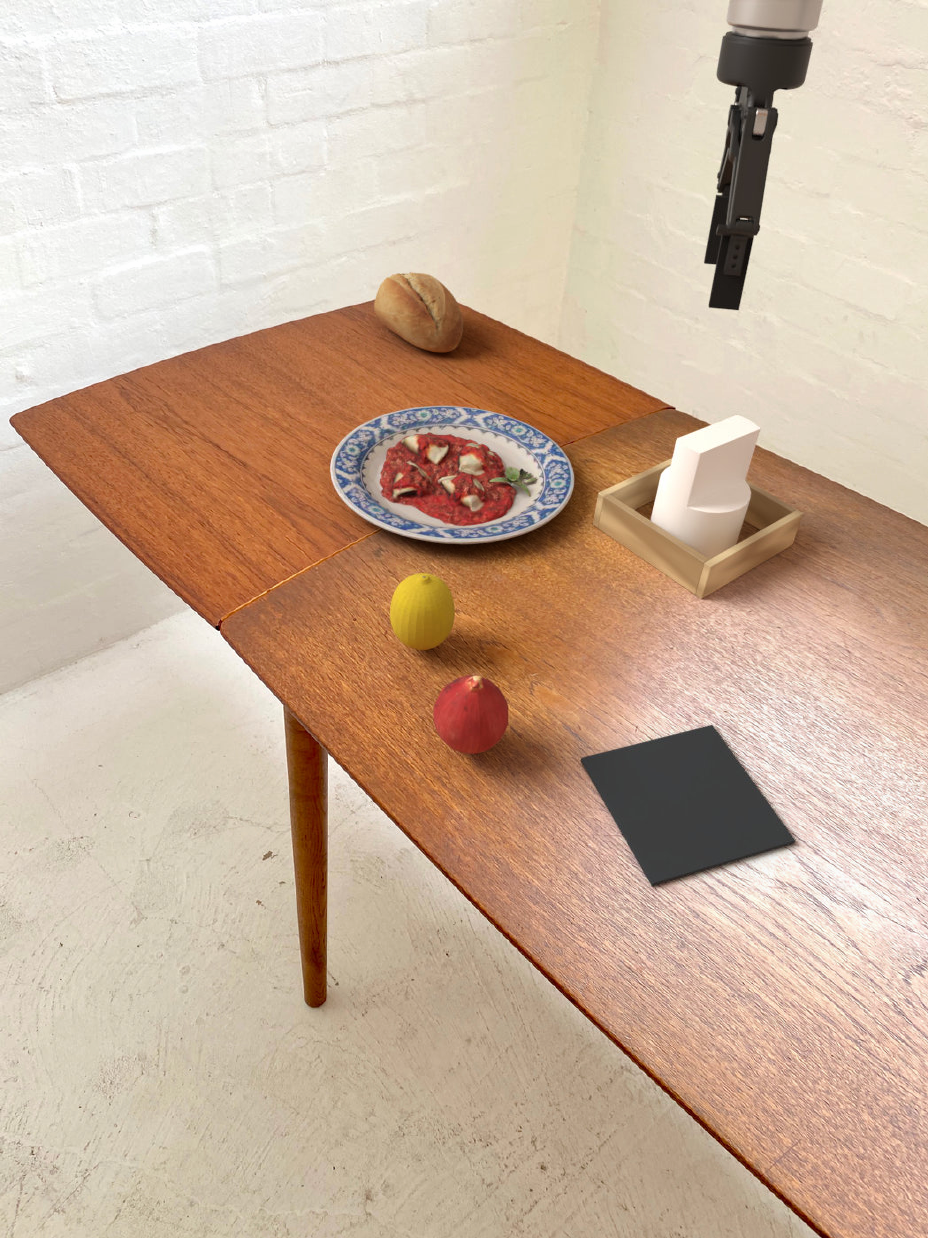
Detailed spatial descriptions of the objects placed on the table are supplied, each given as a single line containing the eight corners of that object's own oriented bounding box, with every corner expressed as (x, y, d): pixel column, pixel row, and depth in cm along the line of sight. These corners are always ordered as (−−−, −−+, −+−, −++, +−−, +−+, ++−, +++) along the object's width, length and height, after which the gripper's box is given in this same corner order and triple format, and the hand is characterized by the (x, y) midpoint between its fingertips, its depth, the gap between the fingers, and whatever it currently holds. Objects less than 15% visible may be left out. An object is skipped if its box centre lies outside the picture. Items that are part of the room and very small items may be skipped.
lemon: (381, 661, 84) (381, 590, 79) (399, 620, 89) (401, 550, 83) (443, 674, 84) (448, 604, 78) (459, 632, 88) (464, 562, 82)
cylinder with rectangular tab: (694, 572, 96) (722, 469, 88) (630, 526, 101) (652, 424, 93) (754, 542, 100) (787, 441, 92) (690, 499, 106) (716, 400, 98)
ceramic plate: (288, 521, 98) (287, 497, 96) (385, 403, 117) (386, 381, 115) (534, 586, 93) (538, 561, 91) (595, 451, 112) (599, 428, 110)
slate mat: (711, 727, 81) (712, 724, 81) (794, 843, 73) (795, 840, 72) (580, 760, 77) (580, 757, 77) (651, 887, 69) (652, 883, 69)
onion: (416, 744, 78) (419, 673, 72) (467, 708, 81) (474, 638, 76) (467, 787, 75) (474, 716, 69) (519, 749, 78) (529, 678, 73)
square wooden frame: (684, 479, 109) (692, 448, 106) (792, 544, 101) (804, 513, 98) (592, 524, 101) (598, 492, 99) (701, 599, 93) (711, 566, 91)
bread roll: (419, 368, 124) (421, 308, 119) (355, 323, 132) (354, 265, 127) (479, 350, 129) (483, 291, 123) (413, 307, 137) (415, 251, 132)
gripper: (717, 14, 93) (680, 244, 106) (731, 46, 73) (683, 325, 86) (798, 19, 92) (750, 250, 105) (834, 53, 72) (770, 333, 85)
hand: (720, 284), depth 95 cm, fingers open, 13 cm apart
